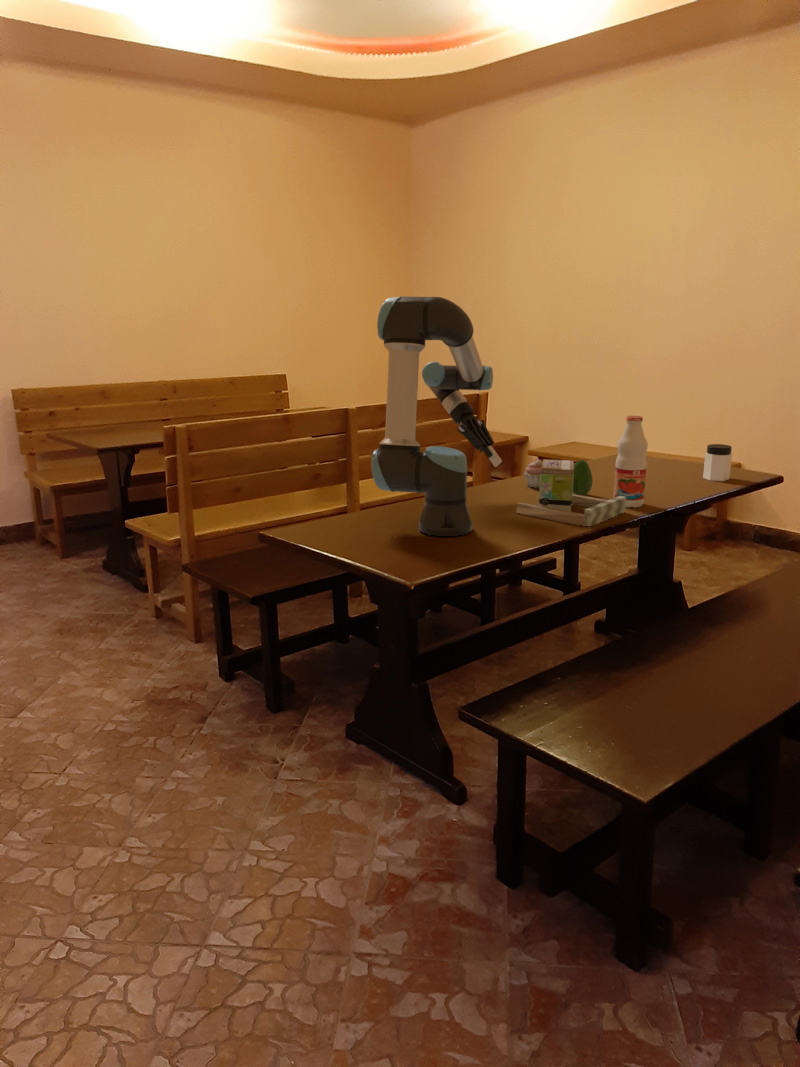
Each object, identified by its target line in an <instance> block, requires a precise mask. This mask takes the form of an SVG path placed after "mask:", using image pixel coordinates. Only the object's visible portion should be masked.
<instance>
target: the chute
mask: <svg viewBox="0 0 800 1067" xmlns="http://www.w3.org/2000/svg"><path fill="white" fill-rule="evenodd" d="M571 504H573V505H572V506H576V505H578V506H577V507H581V506H583V507H582V508H584V510H583V511H584V512H583V513H578V512H575V511H574V512H573V511H571V512H569V511H564V510H559V509H553V508H548V507H542V506H539V505H536V504H533V503H530V504H529V503H525V502H518V503H516V514H518V513H520V515H524V516H529V517H533V518H534V517H535V518H539V519H545V520H549V521H550V520H551V521H554V522H559V523H566V524H569V523H570V524H571V525H575V524H576V525H575V526H580V525H583V526H582V527H585V526H592V525H594V526H596V525H595V524H597V525H599V524H601V523H600V522H602V523H603V521H604V522H606V521H608V519H609V520H610V518H611V519H613V518H615V516H616V517H618V516H620V515H619V514H621V513H623V514H625V513H626V508H627V507H626V497H625V496H618V497H616V498H610V499H604V498H598V497H592V496H586V495H583V496H581V495H576V494H574V493H572V503H571ZM587 507H588V508H587ZM624 512H625V513H624ZM617 515H618V516H617ZM621 515H622V514H621ZM612 517H613V518H612ZM598 523H599V524H598ZM592 527H593V526H592Z"/></svg>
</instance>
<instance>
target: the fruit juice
mask: <svg viewBox="0 0 800 1067" xmlns="http://www.w3.org/2000/svg"><path fill="white" fill-rule="evenodd" d="M625 420H626V425H625V427H624V429H623V432H622V434H621V435H620V438H619V439H618V441H617V445H616V446H617V451H618V452H617V453H618V454H617V456H616V459H615V469H614V482H613V496H612V497H613V498H616V497H618V496H625V497H626V507H625V508H630V507H633V508H640V507H642V506H643V504H644V501H645V491H646V490H645V489H646V477H647V457H646V453H647V450H648V445H649V444H648V440H647V438H646V437H645V433H644V431H643V426H642V423H643V416H641V415H627V416H626V418H625ZM613 498H612V499H613Z"/></svg>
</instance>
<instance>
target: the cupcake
mask: <svg viewBox="0 0 800 1067" xmlns="http://www.w3.org/2000/svg"><path fill="white" fill-rule="evenodd" d="M542 463H543V460H541V459H540V458H537V457H536V459H535V461H532V462H530V463H529V464H528V465H527V466H526V467H525V471H524V472H523V474H524V477H525V480H526V485H528V486H529V488H531V487H534V488H533V489H540V476H541V468H542ZM528 486H527V487H528Z"/></svg>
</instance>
